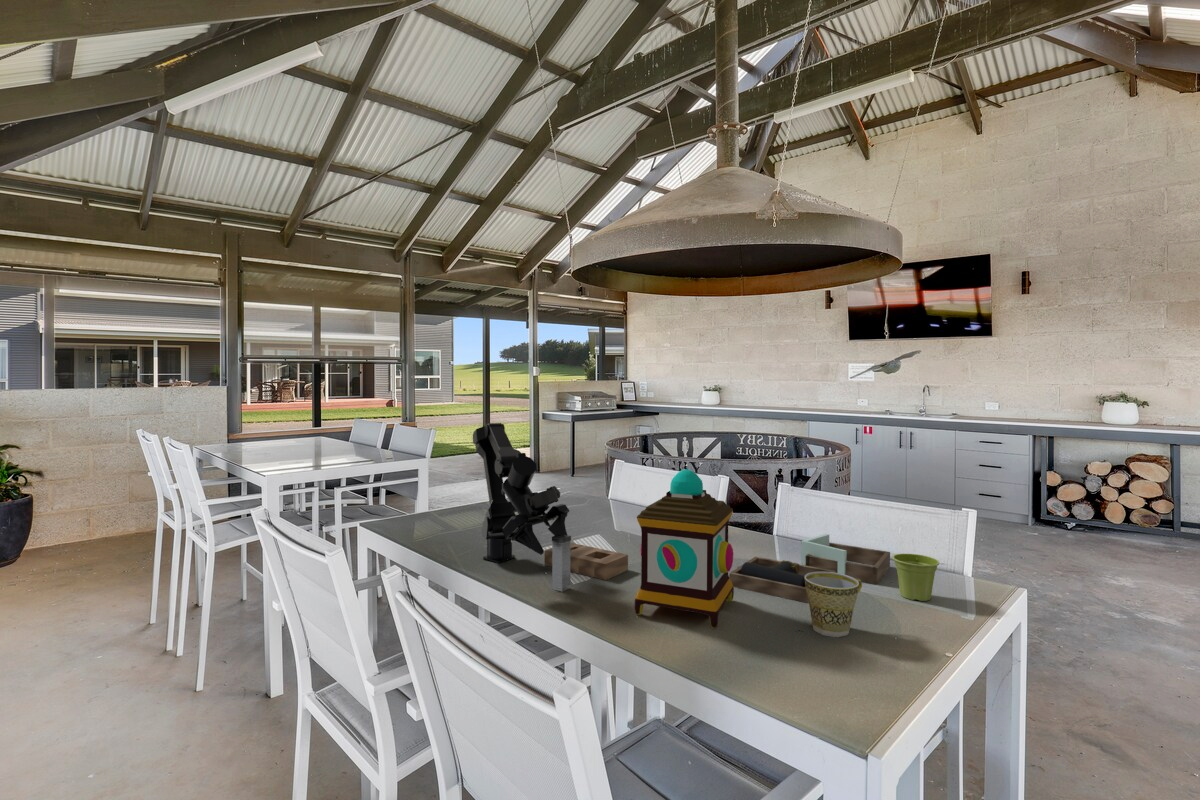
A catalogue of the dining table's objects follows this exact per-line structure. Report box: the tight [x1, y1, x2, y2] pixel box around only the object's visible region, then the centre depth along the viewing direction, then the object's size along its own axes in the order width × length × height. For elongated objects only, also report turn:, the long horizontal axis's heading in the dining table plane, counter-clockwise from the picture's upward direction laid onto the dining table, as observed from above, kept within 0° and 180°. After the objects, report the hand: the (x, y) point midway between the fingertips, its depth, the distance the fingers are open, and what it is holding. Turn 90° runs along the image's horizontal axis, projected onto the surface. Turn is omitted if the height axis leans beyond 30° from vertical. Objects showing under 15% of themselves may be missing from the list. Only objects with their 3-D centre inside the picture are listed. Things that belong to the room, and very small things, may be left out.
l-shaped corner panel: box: [800, 533, 847, 575], centre depth 151 cm, size 12×12×8 cm
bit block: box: [544, 542, 629, 581], centre depth 151 cm, size 20×10×4 cm, turn 54°
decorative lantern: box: [634, 468, 735, 629], centre depth 124 cm, size 20×20×30 cm
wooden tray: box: [728, 556, 835, 604], centre depth 139 cm, size 20×17×3 cm
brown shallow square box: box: [806, 542, 891, 586], centre depth 151 cm, size 17×17×4 cm
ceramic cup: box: [804, 572, 863, 638], centre depth 113 cm, size 13×10×10 cm
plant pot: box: [892, 553, 940, 602], centre depth 131 cm, size 9×9×9 cm
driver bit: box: [551, 534, 572, 593], centre depth 135 cm, size 3×3×12 cm
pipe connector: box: [740, 559, 805, 587], centre depth 138 cm, size 12×5×15 cm
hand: (555, 549), depth 136 cm, fingers open, 9 cm apart
